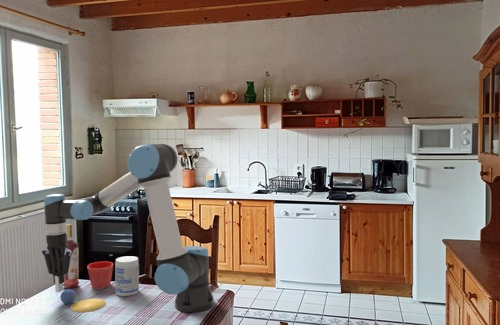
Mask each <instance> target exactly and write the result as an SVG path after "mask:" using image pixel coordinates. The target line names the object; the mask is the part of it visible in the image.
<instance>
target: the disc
mask: <svg viewBox="0 0 500 325" xmlns="http://www.w3.org/2000/svg"><path fill="white" fill-rule="evenodd" d="M106 304H107V303H106V301H105V299H100V298H87V299H82V300H79V301H76V302H74V303H72V304H71V305H70V310H71V311H73V312H77V313H88V312H94V311H97V310H99V309H101V308H103V307H105V306H106Z"/></svg>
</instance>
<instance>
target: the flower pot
mask: <svg viewBox="0 0 500 325" xmlns="http://www.w3.org/2000/svg"><path fill="white" fill-rule="evenodd" d="M86 268H87V273H88V277H89V281H90V285H91V288H93V289H96V290H100V289H107V288H109V287H110V286H111V282H112V276H113V270H114V262H111V261H107V260H105V261H95V262H92V263H91V262H90V263H89V264H88V265H87V267H86Z"/></svg>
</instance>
